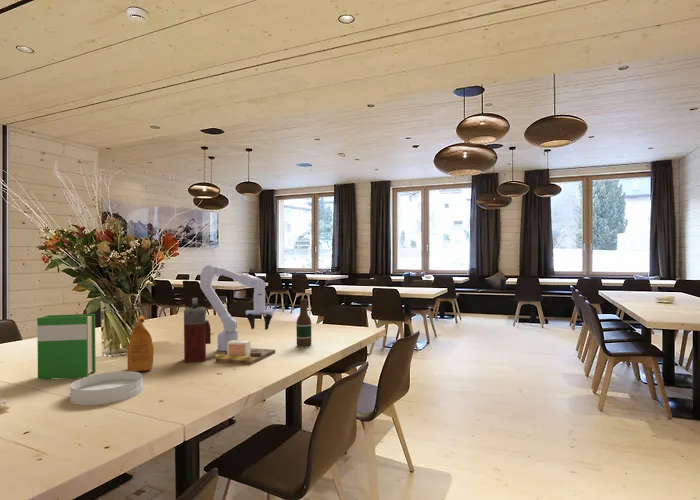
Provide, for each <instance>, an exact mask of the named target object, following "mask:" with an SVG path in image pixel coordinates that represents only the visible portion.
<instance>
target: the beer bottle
mask: <svg viewBox="0 0 700 500" xmlns="http://www.w3.org/2000/svg"><path fill="white" fill-rule="evenodd" d="M299 302H300V308H299V309H300V310H299V316H298V317H297V320H296V326H295V327H296V329H295V330H296V347H299V348H307V347H311V346H312V319H311V317H310V315H309V312H308V299H307V298H301V299H300V300H299Z"/></svg>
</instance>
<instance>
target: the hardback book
mask: <svg viewBox="0 0 700 500" xmlns="http://www.w3.org/2000/svg"><path fill="white" fill-rule="evenodd" d="M36 322H37V328H36V330H37V337H36V339H37V380H38V379H52V378H71V379H79V378H78V377H88V376H89V374H92V373H91V372H95V373H97V372H96V370H97V369H96V360H97V359H96V313H85V314H84V313H81V314H80V313H79V314H50V315H44V316H40V317H37V320H36ZM52 380H53V379H52Z"/></svg>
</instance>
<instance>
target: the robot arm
mask: <svg viewBox="0 0 700 500" xmlns="http://www.w3.org/2000/svg"><path fill="white" fill-rule="evenodd" d="M215 276H216V277H219V276H224V277H227V278H230V279H233V280H236V281H238V283H239V284H240V285H242V286H246V287H248V288H250V289H251V288H253V310H250V309H249V310H245V316H246V318H247V320H248V322H249V325H250V329H251V330H254V329H255V323H256V322H255V321H256V315H258V316H263V320H264V330H266V331H267V330H269V326H270V323H271V320H272V318H273V316H274V311H273V310H266V293H265V292H266V289H265V288H266V287H267V286H266V282H265V281H264V280H263V279H262V278H260V277H258V276H253V275H250V274H249V273H248V272H246V273H245V272H242V273H238V272H235V271H233V270H230V269H227V268H226V267H225V268H224V267H222V266H217V265H212V264H207V265H205V266H204V267H203V268H202V269H201V272H200V281H199V283H200V284H199V287H200V289H201V291H202V293H203V294H204V295H205V298H207V300H208V301H209V304H211V306H212V308H213V310H214V311H215V313H216V314H217V316H218V317H219V319H220V321H221V322H222V324H223V330H222V331H220V332H219V333H218V334H217V342H216V343H217V349H216V352H217V351H219V352H220V351H221V352H226V351H227V342H229V341H231V340H239V332H238V329H237V327H238V325H237V324H238V323H237V320H236V318H234V317H233V316H232V315H231V314H230V313H229V311H228V310H227V309H226V306H225V305H224V304H223V302H222V301H221V299H220V298H219V296H218V295H217V293H216V291H215V290H214V288H213V287H212V281H213V278H214V277H215Z"/></svg>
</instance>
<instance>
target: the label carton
mask: <svg viewBox="0 0 700 500" xmlns="http://www.w3.org/2000/svg"><path fill="white" fill-rule="evenodd" d="M250 348H251V340H243V339H242V340H239V339H238V340H231V341H229V342H227V355H232V356H245V357H250V356H251V352H250Z"/></svg>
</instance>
